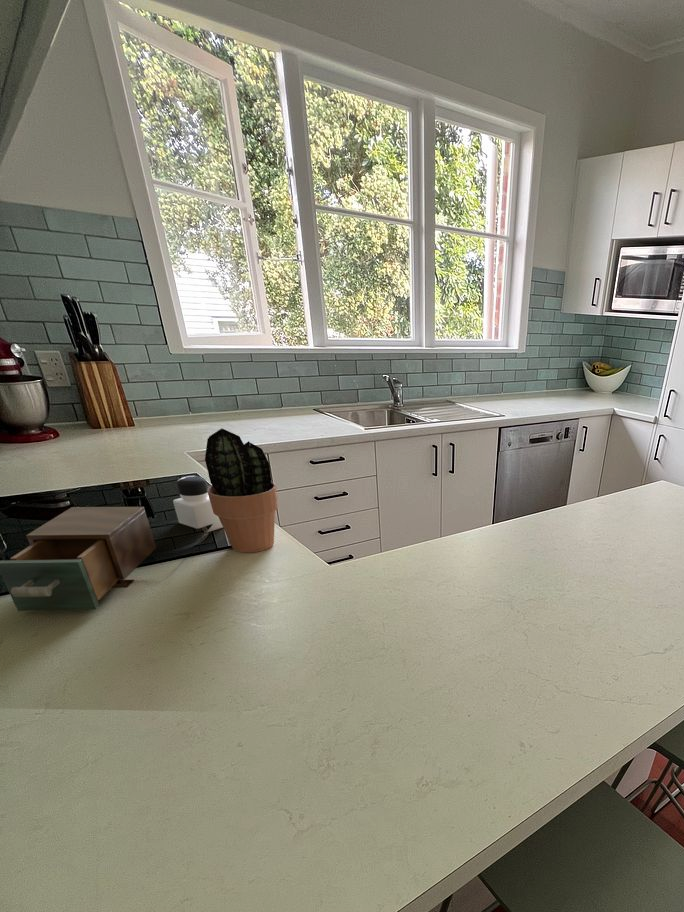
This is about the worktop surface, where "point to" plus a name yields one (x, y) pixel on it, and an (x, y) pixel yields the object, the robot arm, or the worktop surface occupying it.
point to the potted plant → (241, 491)
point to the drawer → (60, 574)
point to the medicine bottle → (195, 504)
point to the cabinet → (105, 534)
